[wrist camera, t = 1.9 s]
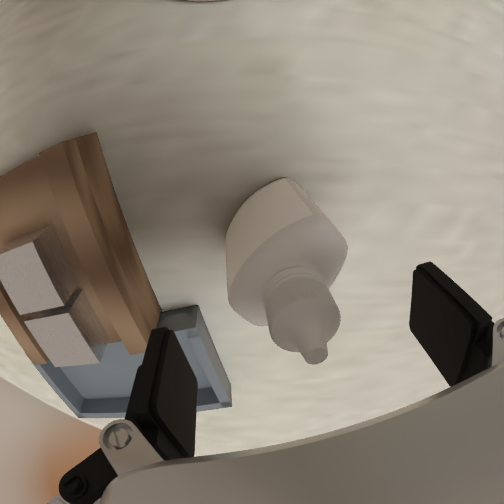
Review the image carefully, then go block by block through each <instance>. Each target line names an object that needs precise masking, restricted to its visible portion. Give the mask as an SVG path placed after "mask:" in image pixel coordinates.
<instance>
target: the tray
mask: <svg viewBox="0 0 504 504" xmlns="http://www.w3.org/2000/svg"><path fill="white" fill-rule="evenodd" d="M161 327H167V328H168V329H169V330H171V329H172V330H173V331H174V332H175V334H176V337H177V339H178V341H179V343H180V345H181V347H182V349H183V352H184V354H185V356H186V358H187V360H188V362H189V364H190V366H191V368H192V370H193V372H194V374H195V376H196V378H197V382H198V391H197V409H196V412H197V411H205V410H212V409H219V408H226V407H232V398H231V384H230V382H229V379H228V377H227V375H226V372H225V370H224V368H223V365H222V363H221V361H220V358H219V356H218V354H217V351H216V349H215V346H214V344H213V341H212V339H211V337H210V334H209V332H208V329H207V327H206V324H205V322H204V319H203V316H202V314H201V311H200V309H199V306H198V305H196V306H192V307H187V308H182V309H177V310H172V311H167V312H162V313H160V316H159V320H158V324H157V328H161ZM25 353H26V352H25ZM144 354H145V353H140V354H133V355H130V354H129V352H128V351H127V349H126V347H125V346H124V344H123V342H115V343H108V344H107V346H106V349H105V351H104V354H103V357H102V359H101V362H100V363H97V364H87V365H76V366H65V367H55V366H54V365H53V364H52V362H51V361H50V359H49V361H48V363H47V364H38V365H34V366H35V367H36V368H37V370H38V371H39V372H40V373H41V375H42V376H43V377H44V379H45V380H46V381H47V382H48V384H49V385H50V386H51V387H52V388H53V390H54V391H55V392H56V393H57V394H58V395H59V397H60V398H61V399H62V400H63V401H64V402H65V403H66V405H67V406H68V407H69V408H70V409H71V410H72V411H73V412H74V413H75V414H76V415H77V417H78V418H122V417H125V415H126V411H127V407H128V403H129V399H130V395H131V391H132V387H133V383H134V380H135V376H136V372H137V369H138V367H139V366H140V365H142V362H143V358H144ZM26 355H27V354H26ZM27 356H28V355H27ZM28 358H29V357H28ZM29 359H30V358H29ZM30 360H31V359H30ZM31 362H32V361H31ZM32 363H33V362H32ZM33 364H34V363H33Z"/></svg>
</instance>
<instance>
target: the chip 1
mask: <svg viewBox="0 0 504 504" xmlns="http://www.w3.org/2000/svg"><path fill="white" fill-rule="evenodd" d="M0 280H1V282H2V284H3V286H4V288H5V290H6V291H7V293H8V295H9V297H10V299H11V300H12V302H13V304H14V306H15V307H16V309H17V311H18V312H19V314H20V315H22V314H27V313H32V312H37V311H41V310H46V309H51V308H56V307H60V306H64V305H65V304H66V302H67V301H68V299H69V298H70V296H71V295H72V293H73V292H74V290H75V289H76V287H77V286H78V284H79V283H80V282H79V280H78V278H77V276H76V274H75V272H74V270H73V267H72V265H71V263H70V261H69V259H68V257H67V255H66V252H65V250H64V248H63V246H62V243H61V241H60V239H59V236H58V234H57V232H56V229H55V227H54V224H51V225H49V226H46V227H43V228H41V229H38V230H36V231H33V232H31V233H28V234H26V235H23V236H21V237H18V238H16V239H14V240H11V241H10V242H9V243H7V244H6V245H5V246H4V247H3V248H2V249H0Z"/></svg>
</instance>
